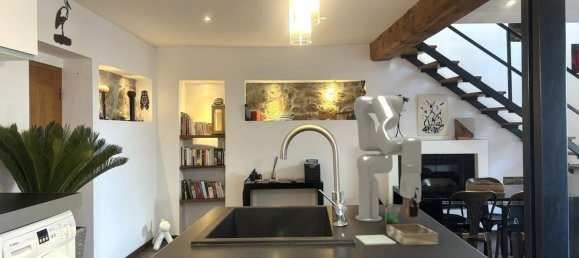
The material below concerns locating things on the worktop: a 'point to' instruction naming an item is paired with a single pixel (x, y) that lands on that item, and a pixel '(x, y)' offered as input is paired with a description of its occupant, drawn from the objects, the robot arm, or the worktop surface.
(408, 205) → the walnut block
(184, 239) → the worktop surface
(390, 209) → the food container
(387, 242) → the mat
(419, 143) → the robot arm
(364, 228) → the worktop surface
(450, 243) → the worktop surface
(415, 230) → the access box
